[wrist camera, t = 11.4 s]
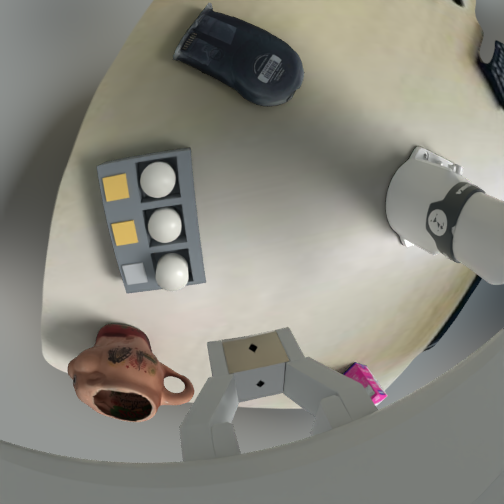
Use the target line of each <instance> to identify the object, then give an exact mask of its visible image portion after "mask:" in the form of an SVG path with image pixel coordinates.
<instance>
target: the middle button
mask: <svg viewBox="0 0 504 504" xmlns="http://www.w3.org/2000/svg"><path fill="white" fill-rule="evenodd" d="M181 222H182V219H181V215H180V212H179V211H178V210H177V209H176V208H175V207H173V206H166V207H159V208H156V209H155V210H154V211H153V212H152V214H151V217H150V220H149V223H148V230H149V233H150V235H151V237H152V238H153V239H155V240H156V241H158V242H161V243H168V242H172V241H173V240H175V239H176V238H177V237H178V236H179V234H180V232H181Z"/></svg>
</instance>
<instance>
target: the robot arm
mask: <svg viewBox="0 0 504 504" xmlns="http://www.w3.org/2000/svg"><path fill="white" fill-rule="evenodd" d="M462 174H463V167H462V166H459V165H457V164H454V163H452V162H450V161H448V160H446V159H444V158H442V157H441V156H439V155H437V154H435V153H433V152H430V151H428V150H426V149H424V148H422V147H419V146H418V147H416V148H415V149H414V151H413V153H412V154H411V156H410V158H409V159H408V161H406V162H405V163H404V164H403V165H402V166H401V167H400V168H399V169H398V170H397V172H396V173H395V175H394V176H393V178H392V180H391V183H390V185H389V188H388V192H387V198H386V214H387V219H388V222H389V224H390V226H391V227H392V229H393V230H394V231H395V232H396V233H398V234H399V236H400V239H401V242H402V244H403V245H404V246H406V247H410V246H413V245H416V246H417V247H419V248H421V249H423V250H425V251H427V252H428V253H430V254H432V255H436V254H439V253H442V254H443V255H445V256H446V257H447V258H448V259H450V260H453V261H454V262H456V263H462V264H463V265H465V266H466V267H468V268H469V269H470V270H472V271H473V272H475V273H476V274H477V275H479V276H480V277H481V278H483V279H484V280H485V281H487V282H488V283H490V284H493V285H499V284H504V201H501V200H499V199H497V198H494V197H492V196H490V195H487V194H486V193H485V192H484V191H483V190H482V189H480V188H479V187H478V186H476V185H474V184H472V182H471V181H470V180H468V179H466V178H465V177H463V176H462ZM207 347H208V353H209V359H210V365H211V371H212V377H210V378H208V379H207V381H206V383H205V385H204V386H203V388H202V390H201V391H200V393H199V395H198V396H197V398H196V400H195V402H194V403H193V405H192V407H191V408H190V410H189V412H188V413H187V415H186V417H185V418H184V420H183V422H182V423H181V425H180V427H179V428H180V439H181V448H182V456H183V462H168V463H124V462H108V461H95V460H88V459H79V458H73V457H67V456H61V455H56V454H51V453H46V452H42V451H38V450H33V449H30V448H26V447H22V446H19V445H15V444H12V443H9V442H6V441H3V440H0V504H504V328H503V329H501V330H500V331H499V332H498V333H497V334H496V335H495V336H494V337H492V338H491V339H490V340H489V341H488V342H487V343H485V344H484V345H483V346H481V347H480V348H479V349H478V350H476V351H475V352H474V353H472V354H471V355H470V356H468V357H467V358H466V359H464V360H463V361H461V362H460V363H459V364H457V365H456V366H454V367H453V368H452V369H450V370H448V371H447V372H445V373H444V374H442V375H441V376H440V377H438V378H436V379H435V380H433V381H432V382H430V383H428V384H426V385H425V386H423V387H422V388H420V389H418V390H416V391H414V392H413V393H411V394H409V395H407V396H405V397H404V398H402V399H400V400H398V401H396V402H394V403H392V404H390V405H388V406H386V407H384V408H382V409H380V410H378V409H377V407H376V406H375V404H374V403H373V401H372V399H371V398H370V396H369V395H368V393H367V392H366V390H365V388H364V387H363V385H362V384H361V383H359V382H357V381H355V380H353V379H351V378H349V377H347V376H345V375H343V374H341V373H339V372H337V371H335V370H333V369H331V368H329V367H327V366H325V365H323V364H322V363H320V362H318V361H316V360H314V359H312V358H310V357H306V358H305V357H304V355H303V353H302V351H301V349H300V347H299V345H298V343H297V341H296V339H295V338H294V336H293V334H292V332H291V330H290V328H288V327H286V328H282V329H278V330H275V331H274V330H273V331H268V332H264V333H259V334H254V335H249V336H244V337H238V338H231V339H224V340H222V342H221V340H219V341H212V342H207ZM280 393H284V394H285V395H286V396H287V397H289V398H290V399H291V400H292V401H294V402H295V403H296V404H298V405H299V406H300V407H302V408H303V409H305V410H306V411H307V412H309V413H310V414H311V415H313V416H314V417H316V418H315V421H314V424H313V427H312V429H311V432H310V434H311V437H308V438H305V439H302V440H298V441H295V442H291V443H288V444H284V445H280V446H276V447H272V448H268V449H264V450H259V451H254V452H249V453H244V454H241V453H240V449H239V445H238V441H237V438H236V434H235V430H234V426H233V424H231V422H232V419H233V417H234V414H235V412H236V409H237V407H238V404H239V402H243V401H248V400H252V399H257V398H261V397H266V396H271V395H275V394H280Z"/></svg>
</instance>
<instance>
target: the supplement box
mask: <svg viewBox="0 0 504 504" xmlns="http://www.w3.org/2000/svg"><path fill="white" fill-rule="evenodd" d="M343 375H345V376H347V377H349V378H351V379H353V380H355V381H357V382H359V383H361V384H362V385H363V387H364V388H365V390H366V392H367V393H368V395H369V396H370V398H371V399H372V401H373V403H374V404H375V406H377V405H378V404H379V403H380V402H381V401H382V400H384V399H385V398H386V397H387V394H386V393H385V391H384V390H383V388H382V387H381V385H380V384H379V383H378V381H377V380H376V378H375V377H374V376H373V374H372V373H371V371H370V370H369V369H368V367H367V366H366V365H362V364H358V363H356V362H355V363H354V364H353V365H352V366H351V367H350V368H349V369H348V370H347V371H346V372H345V373H343Z"/></svg>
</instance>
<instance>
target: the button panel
mask: <svg viewBox="0 0 504 504" xmlns="http://www.w3.org/2000/svg"><path fill="white" fill-rule="evenodd" d="M157 160H163V161H167V162H169V163H170V164H171V165H172V166H173V167H174V169H175V172H176V180H175V185H174V187H173V189H172V191H171V192H170V193H169V194H168V195H166V196H164V197H161V198H154V197H151V196H149V195H147V194H146V193H145V192H144V191H143V189H142V187H141V184H140V178H141V174H142V172H143V171H144V169H145V168H146V167H147V166H148V165H149V164H150V163H152V162H154V161H157ZM97 172H98V178H99V184H100V190H101V195H102V200H103V205H104V210H105V215H106V219H107V224H108V228H109V232H110V237H111V241H112V244H113V248H114V252H115V256H116V259H117V263H118V266H119V270H120V273H121V277H122V280H123V283H124V286H125V289H126V292H127V293H135V292H143V291H150V290H158V289H163V288H161V287H160V286H159V285H158V283H157V281H156V269H157V263H158V260H159V259H160V258H161V257H162V256H163V255H165V254H167V253H177V254H179V255H181V256H183V257H184V258H185V260H186V261H187V264H188V282H187V284H186V285H185V286H187V285H194V284H201V283H206V278H205V271H204V264H203V257H202V250H201V242H200V234H199V226H198V218H197V210H196V201H195V191H194V181H193V171H192V160H191V149H190V148H184V149H177V150H169V151H163V152H156V153H150V154H144V155H138V156H133V157H128V158H123V159H118V160H113V161H108V162H104V163H102V164H100V165H98V166H97ZM166 206H173V207H175V208H176V209H177V210H178V211H179V212H180V215H181V219H182V222H181V232H180V234H179V236H178V237H177V238H176V239H175V240H173V241H172V242H168V243H161V242H158V241H156V240H155V239H153V238H152V237H151V235H150V233H149V230H148V223H149V220H150V217H151V214H152V212H153V211H154V210H155V209H156V208H159V207H166Z"/></svg>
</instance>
